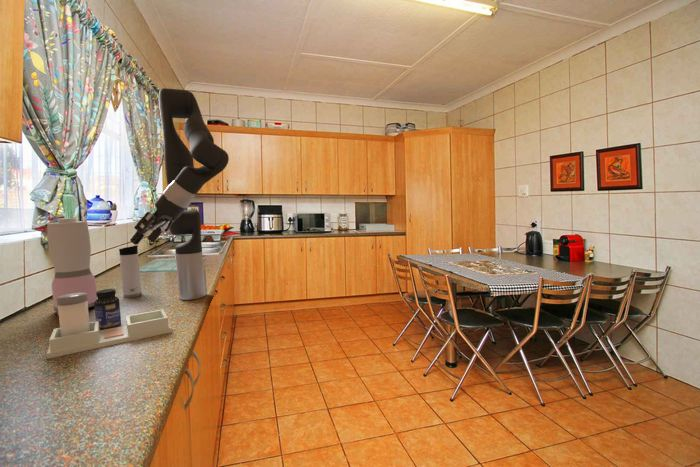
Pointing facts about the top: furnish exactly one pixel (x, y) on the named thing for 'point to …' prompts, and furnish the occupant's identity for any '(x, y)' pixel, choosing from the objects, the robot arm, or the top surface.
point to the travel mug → (130, 271)
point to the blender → (71, 259)
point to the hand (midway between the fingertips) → (142, 241)
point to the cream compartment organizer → (88, 336)
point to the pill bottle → (107, 309)
